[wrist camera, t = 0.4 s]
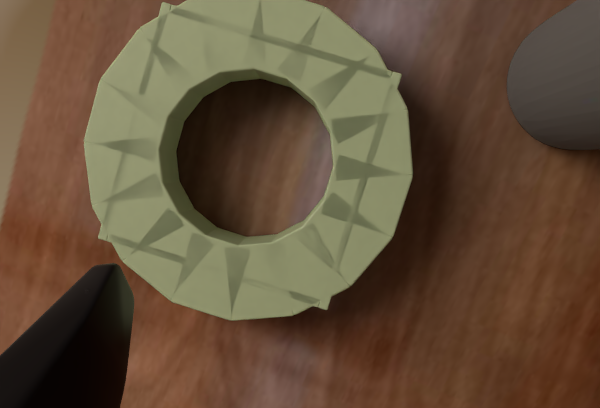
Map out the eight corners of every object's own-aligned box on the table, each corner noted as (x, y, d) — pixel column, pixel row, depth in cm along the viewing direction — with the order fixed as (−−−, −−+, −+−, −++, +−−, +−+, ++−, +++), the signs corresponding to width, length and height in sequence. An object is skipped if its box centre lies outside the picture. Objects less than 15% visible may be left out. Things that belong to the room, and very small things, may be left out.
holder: (442, 57, 23) (456, 44, 21) (350, 340, 24) (353, 360, 22) (154, -29, 24) (133, -52, 21) (78, 253, 25) (50, 264, 22)
